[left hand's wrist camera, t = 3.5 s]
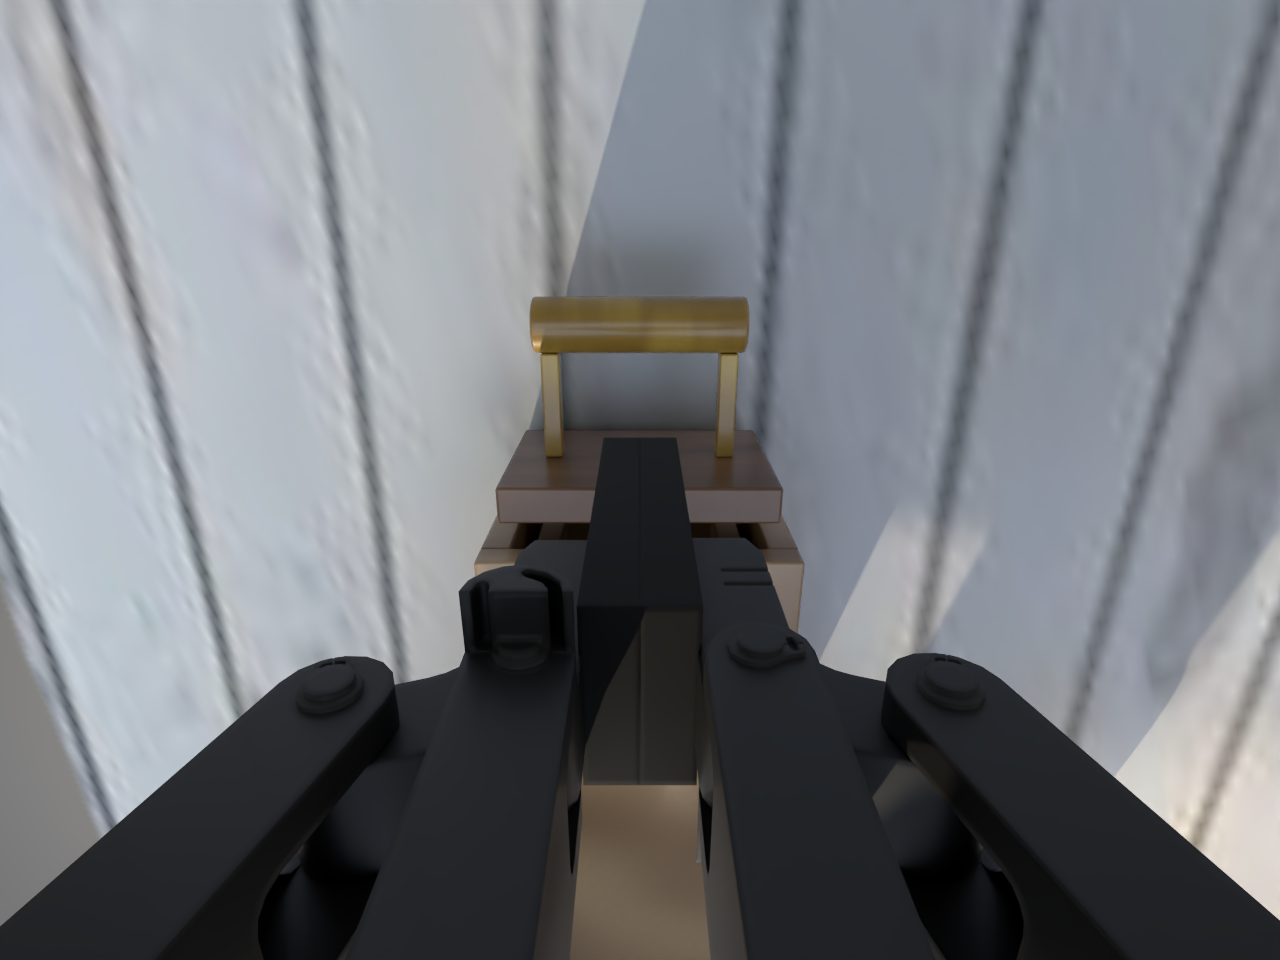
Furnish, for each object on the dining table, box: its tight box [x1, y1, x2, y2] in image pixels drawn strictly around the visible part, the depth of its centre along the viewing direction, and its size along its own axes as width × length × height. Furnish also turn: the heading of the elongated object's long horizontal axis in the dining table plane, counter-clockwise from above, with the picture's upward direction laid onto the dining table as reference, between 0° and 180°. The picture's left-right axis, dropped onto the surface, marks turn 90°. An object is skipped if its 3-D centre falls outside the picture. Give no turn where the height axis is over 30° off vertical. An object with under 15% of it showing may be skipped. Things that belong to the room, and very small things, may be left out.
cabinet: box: [474, 514, 804, 960], centre depth 28 cm, size 20×10×8 cm, turn 0°
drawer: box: [496, 297, 783, 540], centre depth 26 cm, size 24×9×6 cm, turn 0°
